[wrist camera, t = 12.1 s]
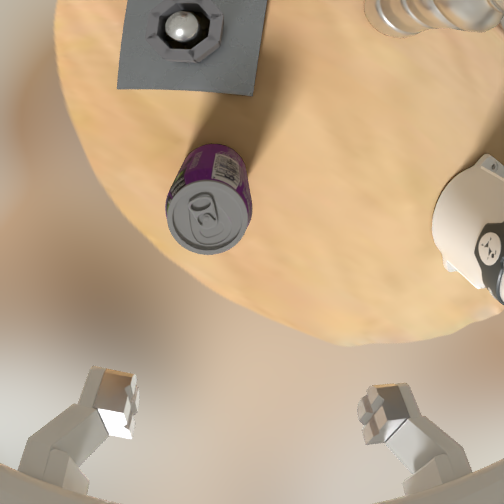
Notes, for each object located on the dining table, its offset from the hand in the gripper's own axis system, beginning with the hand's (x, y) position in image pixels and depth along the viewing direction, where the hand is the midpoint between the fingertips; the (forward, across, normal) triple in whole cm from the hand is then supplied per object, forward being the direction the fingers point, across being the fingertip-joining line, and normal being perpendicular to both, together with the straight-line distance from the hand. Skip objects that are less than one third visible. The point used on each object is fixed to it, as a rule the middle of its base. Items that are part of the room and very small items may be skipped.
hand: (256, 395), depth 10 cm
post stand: (+28, +7, -13) cm, 32 cm away
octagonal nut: (+26, +7, -14) cm, 30 cm away
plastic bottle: (+29, -13, -21) cm, 38 cm away
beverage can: (+28, +3, +2) cm, 28 cm away
